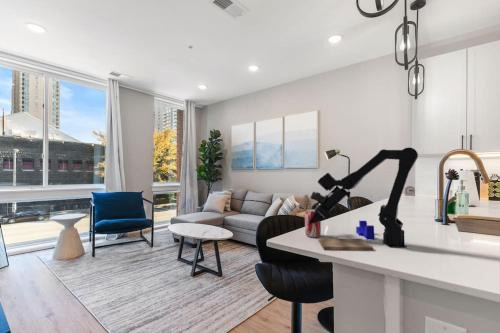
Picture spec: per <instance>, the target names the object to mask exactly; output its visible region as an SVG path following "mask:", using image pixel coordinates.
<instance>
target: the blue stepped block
mask: <svg viewBox="0 0 500 333" xmlns="http://www.w3.org/2000/svg"><path fill="white" fill-rule="evenodd" d="M358 222H359V224H358V225H359V226H356V227H355V232H356V234H357V235H358V236H359V237H360V236H361V237H363V238H365V239H366V240H368V239H371V240H373V241H374V240H375V226H374V225H371V224H370V225H368V222H367V220H358Z"/></svg>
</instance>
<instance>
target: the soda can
mask: <svg viewBox="0 0 500 333" xmlns="http://www.w3.org/2000/svg"><path fill="white" fill-rule="evenodd" d="M314 214H315V208H313V209H312V208H310V209H305V212H304V232H305V236H307V237H309V238H319V237H320V236H321V235H322V234H321V232H322V231H321V229H322V228H321V227H322V226H321V221H322V220H321V221H318V222H315V223H312V224H309V221H310V219H311V218H312V217H313V215H314Z"/></svg>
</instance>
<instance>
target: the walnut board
mask: <svg viewBox="0 0 500 333" xmlns="http://www.w3.org/2000/svg"><path fill="white" fill-rule="evenodd" d="M317 239H318V240H317V241H318V243H319V245H320V246H321V247H322V249H323V250H324V251H369V250H370V251H374V247H373V246H372V245H370V244H369V243H368V242H367V241H365V240H364V239H363V238H349V237H348V238H347V237H346V238H343V237H342V238H341V237H338V238H337V237H336V238H331V237H328V238H326V237H324V238H323V237H320V238H319V237H317Z"/></svg>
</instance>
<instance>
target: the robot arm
mask: <svg viewBox="0 0 500 333" xmlns="http://www.w3.org/2000/svg"><path fill="white" fill-rule="evenodd" d="M418 158H419V154H418V152H417V150H416V149H415V148H412V147H405V148H403V149H386V148H385V149H384V148H383V149H380V150H379V151H378V152H377V154H375V155H374V156H372V157H371V158H370V159H369V160H368V161H366V162H365V163H364V164H363V165H362V166H360V167H359V168H358V169H357V170H355V171H353V172H352V173H349V174H347V175H346V176H344V177H342V178H341V179H336V178H335V177H333V176H332V174H330V173H329V172H327V173H325V174H324V175H322V177H320V178H319V179H318V181H317V184H319V186H321V187H322V189H323V190H324V191H326V192H327V191H329V193H328V194H326V195H322V194H321V193H320V192H318V191H312V193H311V194H310V198H309V199H311V200H314V201H316V203H315V205H314V207H315V208H314V209H315V214H314V215H313V217H312V218H311V219H310V221H309V224H312V223H315V222H318V221H324V220H328V219H329V218H330V217H331V216H330V214H331V212H332V210H333V209H334V208H335V207H337V206H338V204H339V203H340V202H341V201H342V200H343V199H345V197H347V198H348V199H351V197H352V196H351V191H347V190H352V189H355V188H356V187H357V186H358V184H360V183H361V181H362V180H363V178H364V177H366V176H367V175H368V174H369V173H371V172H372V171H373V170H375V169H376V168H377V167H379V166H380V165H381V164H382V163H384V162H385V161H386V160H398V170H397V173H396V176H395V179H394V183H393V184H392V187H391V191H390V195H389V198H388V200H387V203H386V204H382V205H381V206H380V210H379V213H378V214H377V216H378V221H379V224H381V226H383V227H384V229H383V230H384V231H383V232H382V235H383V236H382V240H383V241H382V243H383V244H384V245H386V246H388V247H389V248H407V247H408V246H407V245H406V244H405V229H402V228H403V226H404V222H402V221H401V220H400V219H399V218H398V215H399V212H398V211H399V203H400V201H401V198H402V195H403V191H404V189H405V185H406V183H407V180H408V178H409V177H408V176H409V173H410V172H411V170H412V168H413V166H414V165H415V164H416V162H417V160H418Z"/></svg>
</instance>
